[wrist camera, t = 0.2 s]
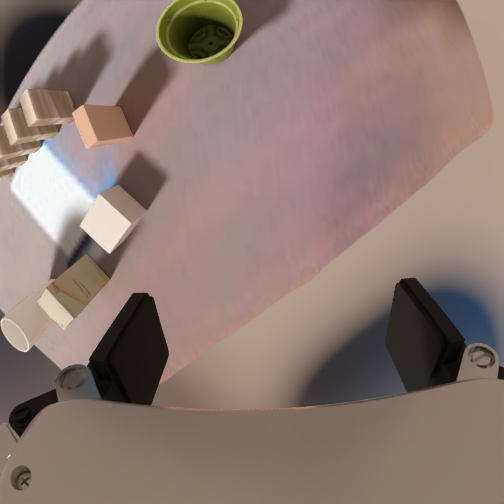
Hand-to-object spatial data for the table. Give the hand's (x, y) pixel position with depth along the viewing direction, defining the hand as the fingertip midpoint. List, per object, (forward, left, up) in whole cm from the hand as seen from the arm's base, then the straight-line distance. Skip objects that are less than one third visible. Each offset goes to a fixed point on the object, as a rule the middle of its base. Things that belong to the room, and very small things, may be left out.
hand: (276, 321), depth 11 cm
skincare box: (+29, -14, -31) cm, 45 cm away
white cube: (+16, -14, -31) cm, 38 cm away
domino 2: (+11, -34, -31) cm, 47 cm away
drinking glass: (+38, -19, -31) cm, 53 cm away
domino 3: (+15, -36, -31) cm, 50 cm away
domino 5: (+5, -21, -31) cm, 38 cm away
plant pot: (-11, -17, -31) cm, 37 cm away
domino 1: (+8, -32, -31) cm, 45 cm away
